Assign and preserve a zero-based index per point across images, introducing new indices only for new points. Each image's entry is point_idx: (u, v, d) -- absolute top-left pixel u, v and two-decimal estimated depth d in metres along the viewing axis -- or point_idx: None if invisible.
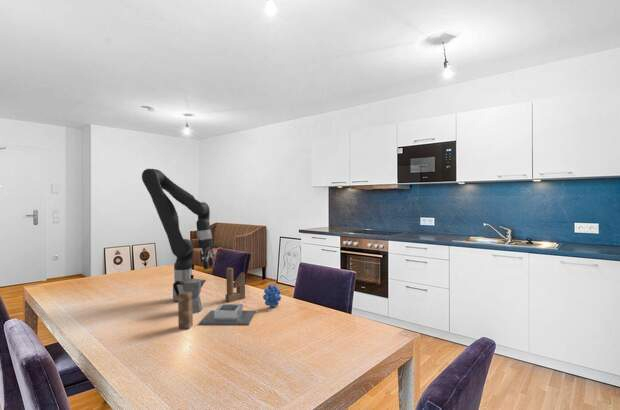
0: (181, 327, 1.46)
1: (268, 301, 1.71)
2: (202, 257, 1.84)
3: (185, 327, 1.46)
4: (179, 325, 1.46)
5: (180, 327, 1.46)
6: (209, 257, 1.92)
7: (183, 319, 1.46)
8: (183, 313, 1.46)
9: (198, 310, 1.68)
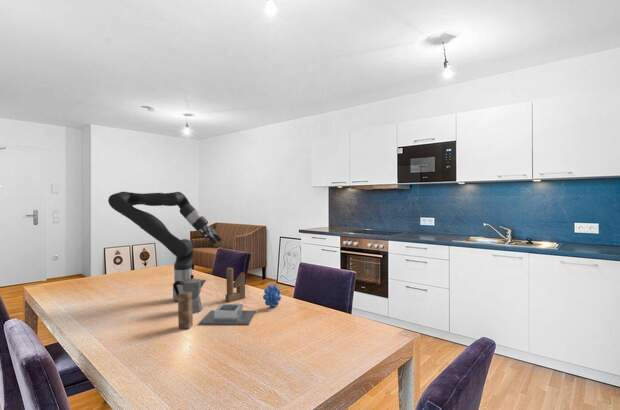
0: (181, 327, 1.46)
1: (268, 301, 1.71)
2: (205, 236, 1.78)
3: (185, 327, 1.46)
4: (179, 325, 1.46)
5: (180, 327, 1.46)
6: (214, 235, 1.87)
7: (183, 319, 1.46)
8: (183, 313, 1.46)
9: (198, 310, 1.68)
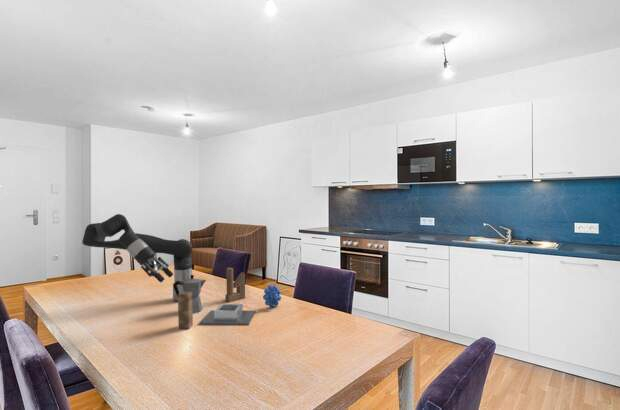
0: (181, 327, 1.46)
1: (268, 301, 1.71)
2: (150, 272, 1.44)
3: (185, 327, 1.46)
4: (179, 325, 1.46)
5: (180, 327, 1.46)
6: (163, 269, 1.52)
7: (183, 319, 1.46)
8: (183, 313, 1.46)
9: (198, 310, 1.68)
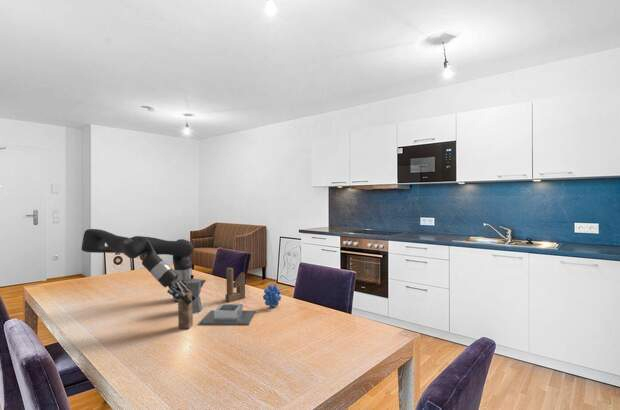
0: (181, 327, 1.46)
1: (268, 301, 1.71)
2: (176, 295, 1.45)
3: (185, 327, 1.46)
4: (179, 325, 1.46)
5: (180, 327, 1.46)
6: None
7: (183, 319, 1.46)
8: (183, 313, 1.46)
9: (198, 310, 1.68)
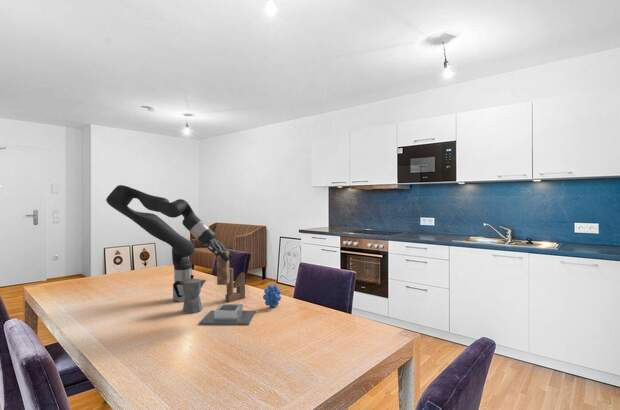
0: (220, 283, 1.55)
1: (268, 301, 1.71)
2: (215, 252, 1.54)
3: (223, 282, 1.55)
4: (218, 281, 1.55)
5: (219, 283, 1.55)
6: None
7: (221, 275, 1.55)
8: (221, 270, 1.55)
9: (198, 310, 1.68)
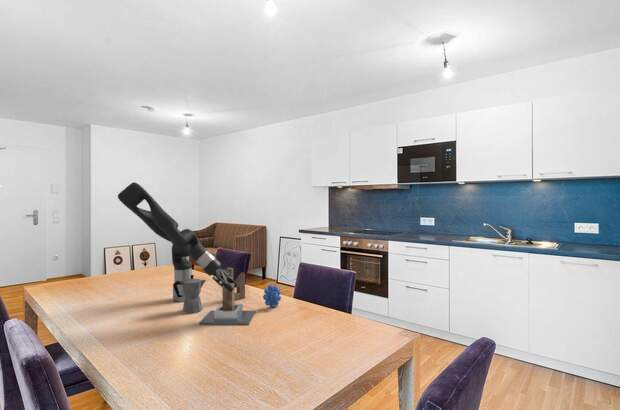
0: None
1: (268, 301, 1.71)
2: (220, 282, 1.55)
3: None
4: None
5: None
6: (228, 279, 1.62)
7: (227, 309, 1.57)
8: (227, 303, 1.57)
9: (198, 310, 1.68)
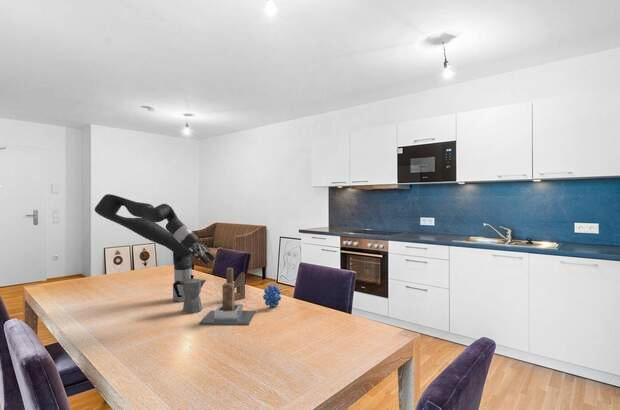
0: None
1: (268, 301, 1.71)
2: (196, 255, 1.55)
3: None
4: None
5: None
6: (206, 253, 1.64)
7: (227, 309, 1.57)
8: (227, 303, 1.57)
9: (198, 310, 1.68)
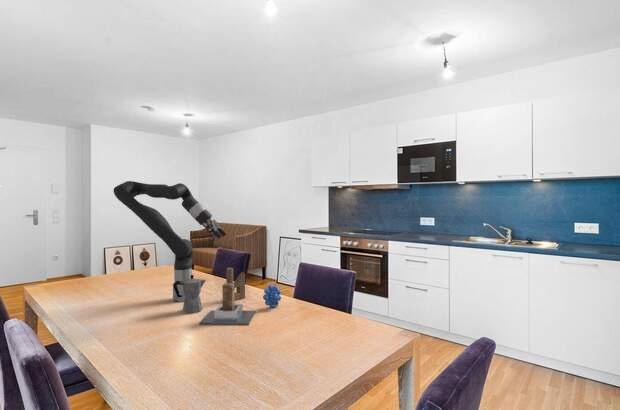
0: None
1: (268, 301, 1.71)
2: (209, 230, 1.69)
3: None
4: None
5: None
6: (218, 229, 1.78)
7: (227, 309, 1.57)
8: (227, 303, 1.57)
9: (198, 310, 1.68)
